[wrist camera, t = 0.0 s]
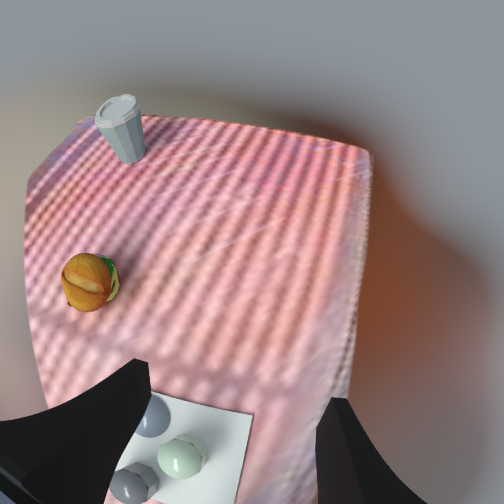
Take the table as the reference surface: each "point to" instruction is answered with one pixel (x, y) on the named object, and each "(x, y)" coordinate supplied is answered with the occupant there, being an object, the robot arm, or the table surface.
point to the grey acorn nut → (134, 484)
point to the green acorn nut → (182, 457)
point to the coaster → (154, 419)
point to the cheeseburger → (89, 281)
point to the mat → (215, 441)
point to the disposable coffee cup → (122, 127)
